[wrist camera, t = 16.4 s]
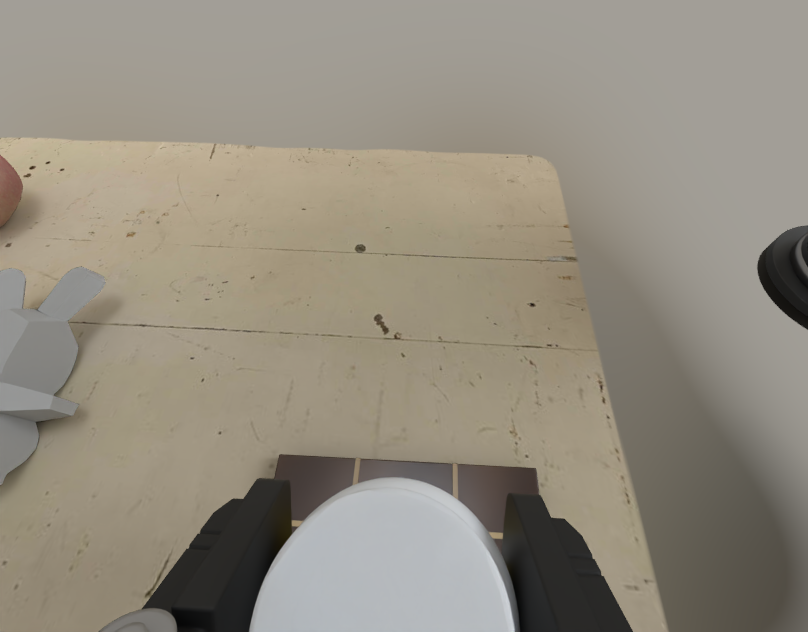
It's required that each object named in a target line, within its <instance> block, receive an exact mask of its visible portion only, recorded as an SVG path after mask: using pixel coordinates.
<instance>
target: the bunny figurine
mask: <svg viewBox="0 0 808 632" xmlns="http://www.w3.org/2000/svg"><path fill="white" fill-rule="evenodd" d="M104 285H105V279H104V276H102V275H99V274H97V273H95V272H93V271H91V270H89V269H86V268H84V267H77V268H74V269H72V270H70V271H69V272H68V273H67V274H65V275H64V276H63V277H62V279H61V280H60V281H59V283H58V284H57V285H56V286H55V288H54V289H53V290H52V292H51V293H50V294H49V295H48V297H47V298H46V299H45V301H44V302H43V303H42V304H41V306H40V307H39V308H38V309H37V310H36V309H23V305H24V296H25V287H26V277H25V275H24V274H23V272H22V271H20V270H18V269H12V268H9V269H6V270H2V271H0V485H2V483H3V481H4V478H5V476H6V474H7V473H9V472H10V471H12V470H13V469H15V468H16V467H18V466H19V465H20V464H22V463H23V462H25V461H26V460H27V458H28V457H29V456H30V455H31V454H32V453H33V452H34V450H35V449H36V447H37V443H38V439H39V433H38V429H37V426H36V422H37V421H44V420H50V419H56V418H62V417H68V416H73V415H74V413H75V411H76V409H77V407H78V406H79V404H77V403H74V402H71V401H68V400H65V399H62V398H59V397H56V396H53V395H54V394H55V393H56V392H57V391H58V390H59V389H60V388H61V387H62V386H63V385H64V384H65V382H66V380H67V379H68V377H69V375H70V373H71V371H72V369H73V366H74V363H75V361H76V357H77V352H78V347H79V346H78V344H77V342H76V340H75V337H74V335H73V333H72V331H71V328H70V326H69V324H68V322H67V321H68V320H69V319H71V318H72V317H73V316H74V315H75V314H76V313H77V312H78V311H79V310H80V309H82V308H83V307H84V306H85V305H86V304H87V303H88V302H89V301H90V300H91V299H92V298H94V297H95V296H96V295H97V294H98V293H99V292H100V291H101V290H102V288H103V287H104Z"/></svg>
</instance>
